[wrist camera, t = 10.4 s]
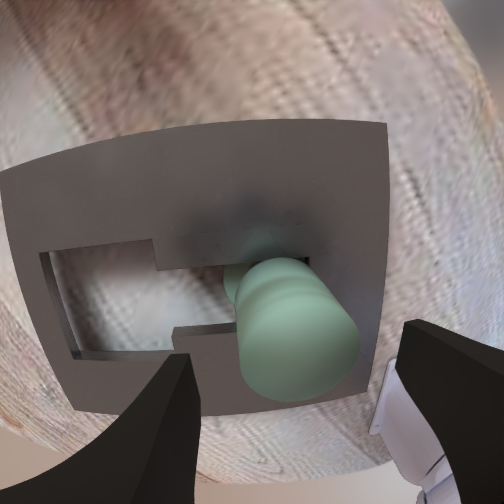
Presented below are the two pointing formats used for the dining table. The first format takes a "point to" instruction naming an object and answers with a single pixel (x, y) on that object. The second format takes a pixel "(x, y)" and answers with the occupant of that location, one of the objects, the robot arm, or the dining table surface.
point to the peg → (289, 329)
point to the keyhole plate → (205, 237)
